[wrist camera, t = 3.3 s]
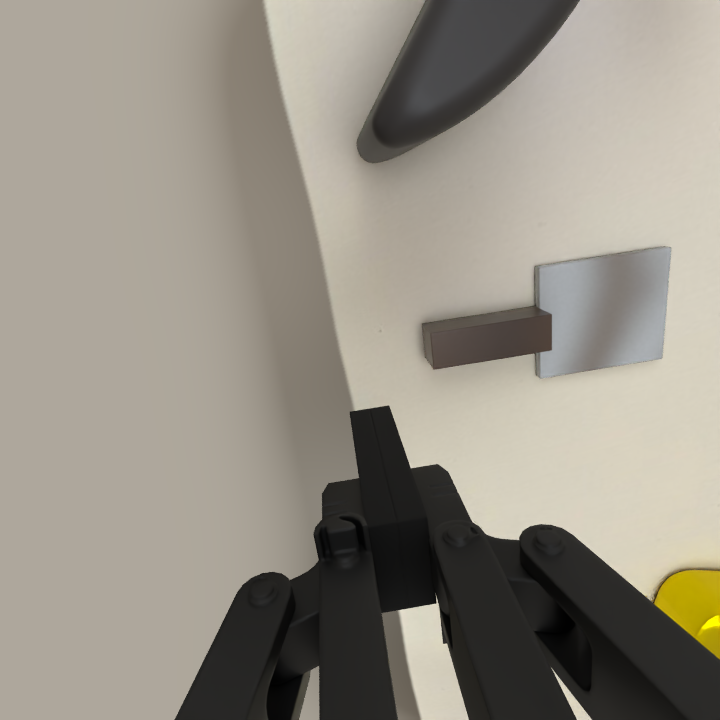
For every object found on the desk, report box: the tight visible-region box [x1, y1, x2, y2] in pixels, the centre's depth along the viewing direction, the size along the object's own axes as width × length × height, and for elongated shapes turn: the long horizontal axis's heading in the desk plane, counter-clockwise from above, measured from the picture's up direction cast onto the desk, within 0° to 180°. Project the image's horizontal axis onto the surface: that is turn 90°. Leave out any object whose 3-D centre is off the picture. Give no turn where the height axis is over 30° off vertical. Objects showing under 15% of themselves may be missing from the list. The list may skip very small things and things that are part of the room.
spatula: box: [422, 246, 671, 378], centre depth 28 cm, size 15×7×2 cm, turn 98°
